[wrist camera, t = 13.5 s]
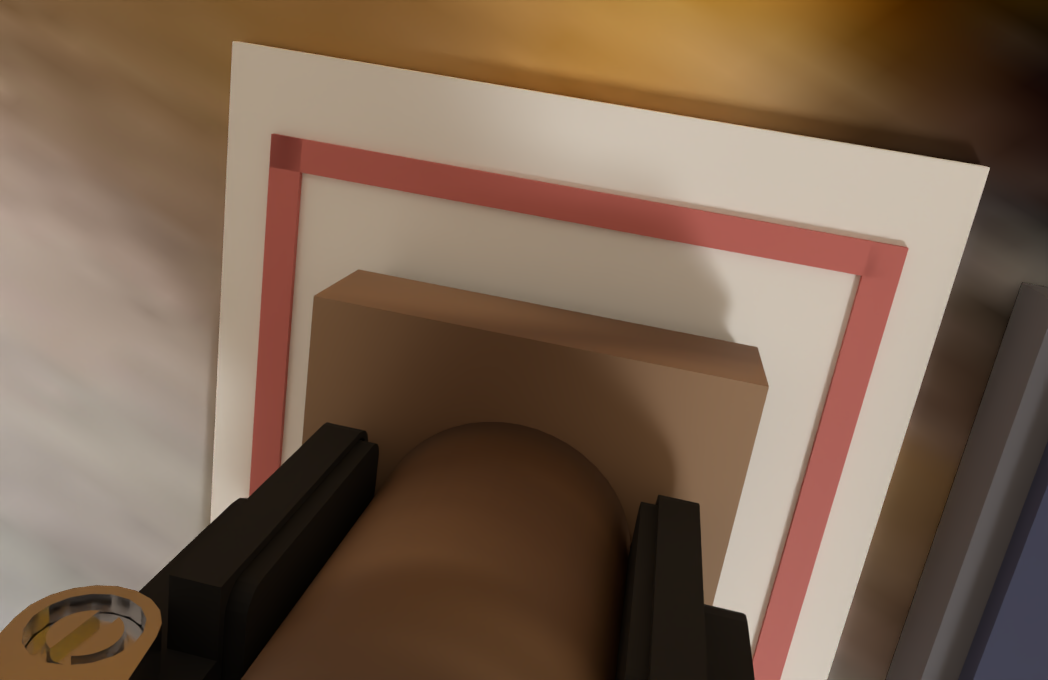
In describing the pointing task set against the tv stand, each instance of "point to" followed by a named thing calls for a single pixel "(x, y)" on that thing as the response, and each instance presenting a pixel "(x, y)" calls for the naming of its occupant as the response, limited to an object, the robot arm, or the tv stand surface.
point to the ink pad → (992, 529)
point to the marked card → (605, 280)
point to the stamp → (505, 479)
